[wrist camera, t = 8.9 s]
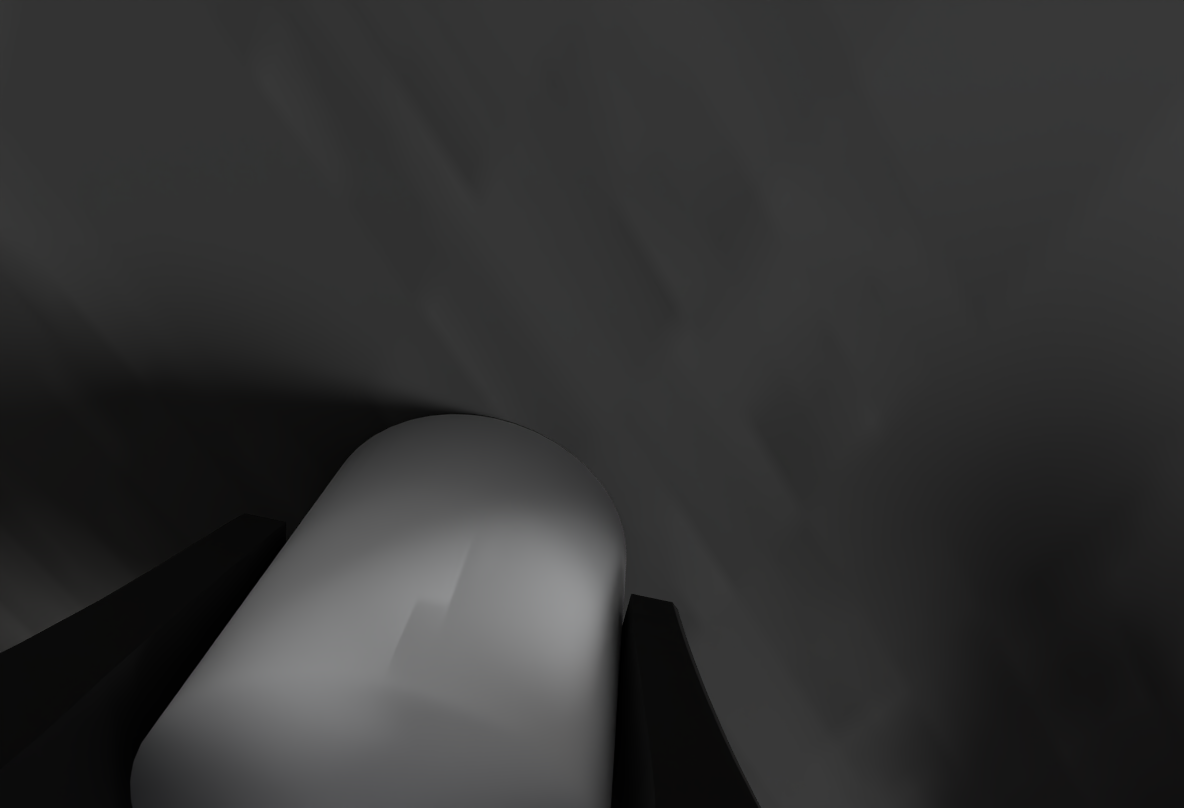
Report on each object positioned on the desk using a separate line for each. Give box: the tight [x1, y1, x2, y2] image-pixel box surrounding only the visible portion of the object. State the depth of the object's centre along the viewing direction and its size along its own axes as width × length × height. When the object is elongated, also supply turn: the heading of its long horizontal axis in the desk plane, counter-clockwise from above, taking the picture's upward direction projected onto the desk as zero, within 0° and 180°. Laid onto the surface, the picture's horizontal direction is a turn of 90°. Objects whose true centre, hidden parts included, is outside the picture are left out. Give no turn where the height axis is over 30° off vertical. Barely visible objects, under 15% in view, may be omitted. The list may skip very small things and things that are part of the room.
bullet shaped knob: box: [130, 414, 626, 808], centre depth 10 cm, size 5×5×5 cm
